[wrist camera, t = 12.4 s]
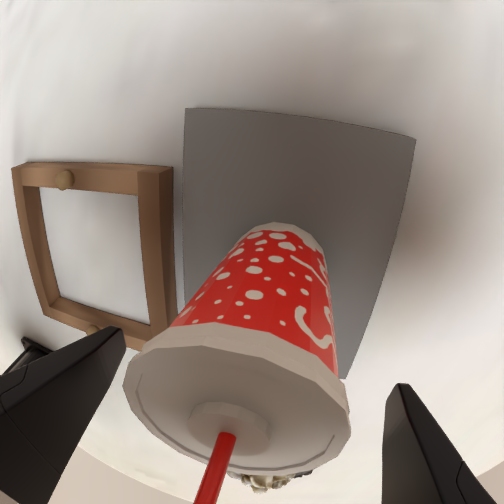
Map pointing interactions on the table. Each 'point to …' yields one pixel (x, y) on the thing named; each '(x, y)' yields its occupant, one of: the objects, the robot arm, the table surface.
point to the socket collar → (151, 233)
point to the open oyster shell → (265, 480)
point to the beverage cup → (249, 365)
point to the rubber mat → (296, 199)
